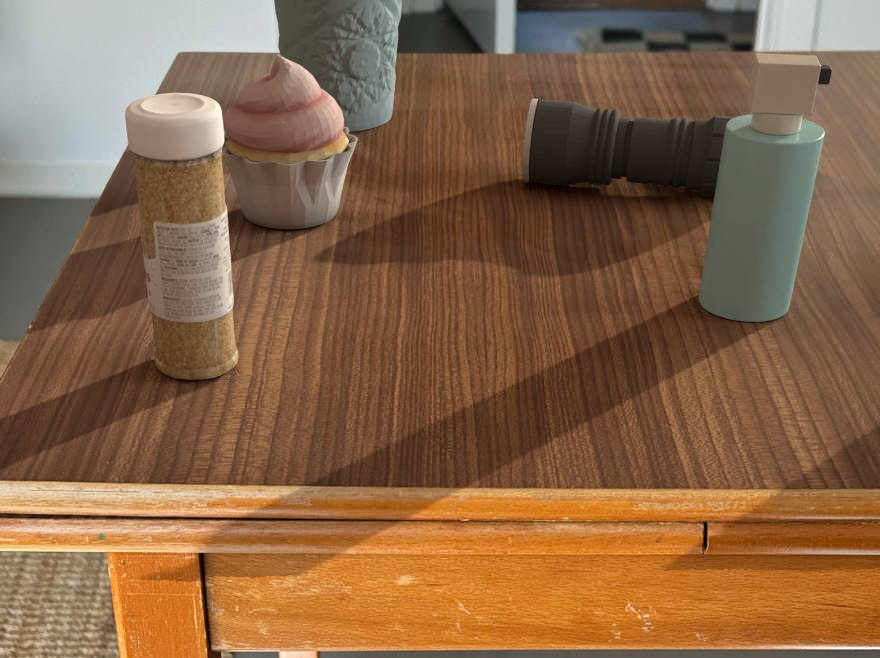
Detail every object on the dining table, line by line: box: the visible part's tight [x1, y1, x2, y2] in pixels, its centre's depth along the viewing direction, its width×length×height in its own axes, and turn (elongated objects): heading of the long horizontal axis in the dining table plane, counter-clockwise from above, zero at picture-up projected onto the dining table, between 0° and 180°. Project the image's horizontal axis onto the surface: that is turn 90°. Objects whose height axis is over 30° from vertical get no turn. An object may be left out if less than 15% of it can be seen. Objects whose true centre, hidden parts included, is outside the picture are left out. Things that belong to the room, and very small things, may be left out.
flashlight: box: [521, 98, 736, 198], centre depth 90 cm, size 15×5×5 cm, turn 78°
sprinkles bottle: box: [124, 92, 240, 381], centre depth 66 cm, size 5×5×14 cm
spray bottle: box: [698, 52, 833, 323], centre depth 73 cm, size 14×5×5 cm
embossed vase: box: [273, 0, 403, 133], centre depth 101 cm, size 10×10×12 cm
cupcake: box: [222, 54, 359, 230], centre depth 85 cm, size 9×9×10 cm
